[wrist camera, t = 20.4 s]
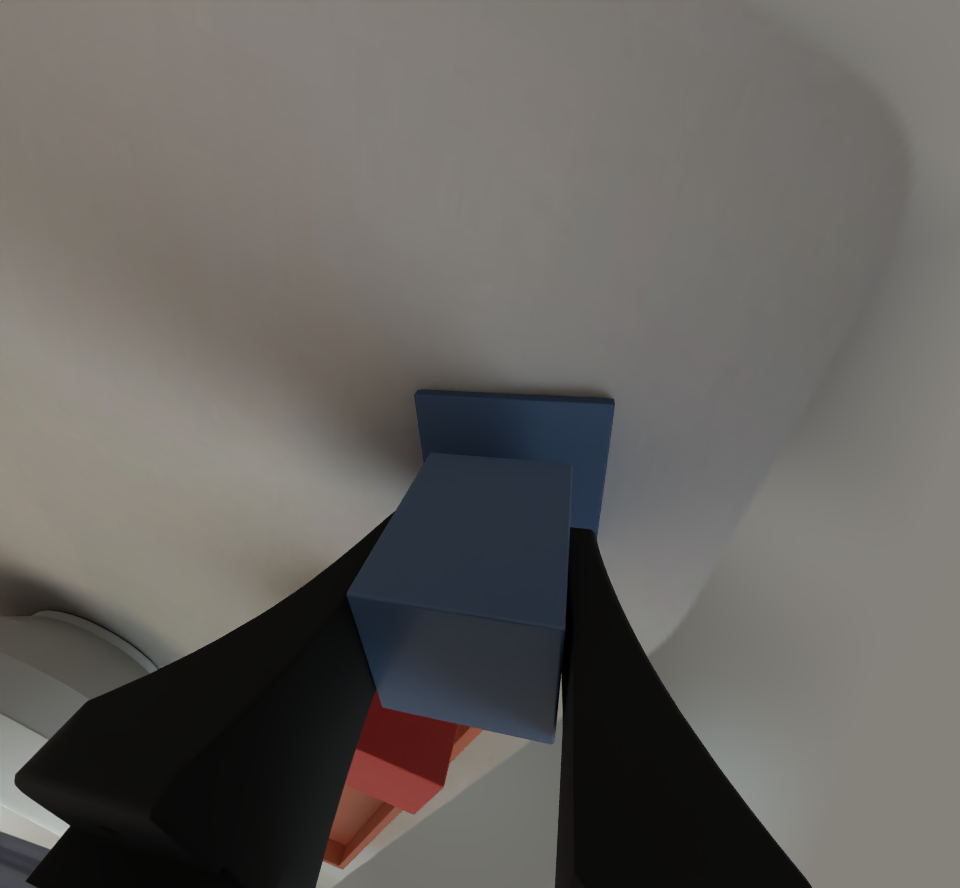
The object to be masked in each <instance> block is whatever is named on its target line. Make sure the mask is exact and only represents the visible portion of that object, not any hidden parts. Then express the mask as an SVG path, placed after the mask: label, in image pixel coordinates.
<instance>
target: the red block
mask: <svg viewBox="0 0 960 888" xmlns="http://www.w3.org/2000/svg"><path fill="white" fill-rule="evenodd" d="M458 725H459V724H456V723H451V722H447V721H442V720H438V719H433V718H429V717H424V716H419V715H415V714H410V713H406V712H401V711H397V710H392V709H388V708H383V707H382V705H381V702H380V699H379V696H378V693H377V690H376V691H375V694H374V697H373V700H372V703H371V706H370V709H369V712H368V715H367V717H366V720H365V723H364V726H363V729H362V732H361V735H360V738H359V741H358V744H357V748H356V751H355V754H354V757H353V760H352V763H351V766H350V769H349V772H348V775H347V779H346V782H345V785H347V786H349V787H352V788H354V789H356V790H359V791H361V792H363V793H365V794H368V795H370V796H372V797H375V798H377V799H379V800H381V801H384V802H386V803H388V804H391V805H393V806H395V807H397V808H400V809H402V810H404V811H407V812H409V813H411V814H415V813H416V812H417V811H418V810H420V809H421V808H422V807H423V806H424V805H425V804H426V803H427V802H428V801H429V800H430V799H432V798H433V797H434V796H435V795H436V794H437V793H438V792H439V791H440V790H441V789H442V788H443V787H444V784H445V780H446V775H447V771H448V767H449V763H450V759H451V754H452V750H453V746H454V742H455V738H456V734H457V729H458Z"/></svg>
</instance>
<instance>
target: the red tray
mask: <svg viewBox="0 0 960 888" xmlns="http://www.w3.org/2000/svg"><path fill="white" fill-rule="evenodd" d="M482 730H483V729H479V728H474V727H470V726H465V725H461V724H459V725H458V729H457V734H456V738H455V742H454V746H453V750H452V754H451V759H450V762H451V761H452V760H453V759H454V758H455V757H456V756H457V755H458V754H459V753H460V752H461V751H462V750H463V749H464V748H465V747H466V746H467V745H468V744H469V743H470V742H471V741H472V740H473V739H474V738H475V737H476V736H477V735H478V734H479V733H480V732H481V731H482ZM401 811H402V809H400V808H397V807H395V806H393V805H391V804H388V803H386V802H384V801H381V800H379V799H377V798H375V797H372V796H370V795H368V794H365V793H363V792H361V791H359V790H356V789H354V788H352V787H349V786H347V785H344V789H343V792H342V795H341V799H340V802H339V805H338V809H337V812H336V815H335V819H334V822H333V825H332V829H331V833H330V836H329V840H328V843H327V847H326V851H325V854H324V858H323V861H324V862H326V863H329V864H331V865H333V866H336V867H338V868H340V869H344V868H345V867H346V866H347V865H348V864H349V863H350V862H351V861H352V860H353V859H354V858H355V857H356V856H357V855H358V854H359V853H360V852H361V851H362V850H363V849H364V848H365V847H366V846H367V845H368V844H369V843H370V842H371V841H372V840H373V839H374V838H375V837H376V836H377V835H378V834H379V833H380V832H381V831H382V830H383V829H384V828H385V827H386V826H387V825H388V824H389V823H390V822H391V821H392V820H393V819H394V818H395V817H396V816H397V815H398V814H399V813H400V812H401Z"/></svg>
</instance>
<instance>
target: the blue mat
mask: <svg viewBox="0 0 960 888" xmlns="http://www.w3.org/2000/svg"><path fill="white" fill-rule="evenodd" d="M414 397H415V404H416V411H417V418H418V425H419V433H420V440H421V447H422V454H423V461H424V462H425V461H426V459H427V457H428V456H429V454H430V453H442V454H454V455H467V456H480V457H493V458H505V459H518V460H531V461H543V462H556V463H569V464H572V466H573V470H572V493H571V516H570V527H574V528H583V529H591V530H592V531H593V532H594V533H595V535H596V540H597V533H598V526H599V518H600V511H601V503H602V496H603V489H604V481H605V474H606V466H607V459H608V452H609V444H610V437H611V429H612V422H613V415H614V407H615V403H614V399H604V398H583V397H561V396H540V395H518V394H497V393H475V392H453V391H432V390H418V391H417V392H416V393H415V395H414Z"/></svg>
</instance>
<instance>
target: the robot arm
mask: <svg viewBox="0 0 960 888" xmlns="http://www.w3.org/2000/svg"><path fill="white" fill-rule="evenodd" d="M394 513H395V512H393V513H392V514H391V515H390V516H389V517H387V518H386V519H385V520H384V521H383V522H382V523H380V524H379V525H378V526H377V527H376V528H375V529H374V530H372V531H371V532H370V533H369V534H368V535H367V536H365V537H364V538H363V539H362V540H361V541H360V542H359V543H357V544H356V545H355V546H354V547H353V548H351V549H350V550H349V551H348V552H347V553H345V554H344V555H343V556H342V557H341V558H339V559H338V560H337V561H336V562H334V563H333V564H332V565H330V566H329V567H328V568H327V569H325V570H324V571H323V572H321V573H320V574H319V575H317V576H316V577H315V578H314V579H312V580H311V581H310V582H308V583H307V584H306V585H304V586H303V587H301V588H300V589H299V590H297V591H296V592H294V593H293V594H291V595H290V596H288V597H287V598H285V599H284V600H282V601H281V602H279V603H278V604H276V605H275V606H273V607H272V608H270V609H269V610H267V611H266V612H264V613H262V614H261V615H259V616H257V617H256V618H254V619H252V620H251V621H249V622H247V623H245V624H244V625H242V626H240V627H238V628H237V629H235V630H233V631H232V632H230V633H228V634H226V635H225V636H223V637H221V638H220V639H218V640H216V641H214V642H212V643H210V644H208V645H206V646H205V647H203V648H201V649H199V650H197V651H195V652H193V653H191V654H189V655H187V656H185V657H183V658H181V659H179V660H177V661H175V662H173V663H171V664H169V665H167V666H165V667H163V668H161V669H159V670H156V671H154V672H152V673H150V674H148V675H146V676H143V677H141V678H139V679H136V680H134V681H132V682H130V683H127V684H125V685H123V686H121V687H118V688H116V689H114V690H112V691H109V692H107V693H105V694H103V695H100V696H98V697H95V698H93V699H91V700H88V701H87V702H86V703H85V704H84V705H83V706H82V707H81V708H80V709H79V710H78V711H77V712H76V713H75V714H74V715H73V716H72V717H71V718H70V719H69V720H68V721H67V722H66V723H65V724H64V725H63V726H62V727H61V728H60V729H59V730H58V731H57V732H56V733H55V734H54V735H53V736H52V737H51V738H50V739H49V740H48V741H47V742H46V743H45V744H44V745H43V746H42V747H41V748H40V750H39V751H38V752H37V753H36V754H35V755H34V756H33V757H32V758H31V759H30V760H29V761H28V762H27V763H26V764H25V765H24V766H23V767H22V768H21V769H20V770H19V771H18V772H17V773H16V774H15V780H14V782H15V786H16V787H17V788H18V789H19V790H20V791H21V792H22V793H24V794H25V795H26V796H28V797H29V798H30V799H32V800H33V801H35V802H36V803H38V804H39V805H41V806H42V807H43V808H45V809H46V810H48V811H49V812H51V813H52V814H54V815H55V816H57V817H58V818H60V819H61V820H63V821H64V822H65V823H67V824H68V825H70V827H69V828H68V829H67V830H66V832H65V833H64V834H63V835H62V837H61V838H60V839H59V840H58V841H57V843H56V844H55V845H54V846H53V848H52V849H48V848H45V847H43V846H40V845H37V844H34V843H32V842H29V841H26V840H23V839H20V838H18V837H15V836H12V835H9V834H7V833H4V832H1V831H0V888H315V887H316V883H317V880H318V876H319V872H320V869H321V865H322V861H323V858H324V854H325V851H326V847H327V843H328V840H329V836H330V833H331V829H332V825H333V822H334V819H335V815H336V812H337V809H338V805H339V802H340V799H341V795H342V792H343V789H344V785H345V782H346V779H347V775H348V772H349V769H350V766H351V763H352V760H353V757H354V754H355V751H356V748H357V744H358V741H359V738H360V735H361V732H362V729H363V726H364V723H365V720H366V717H367V715H368V712H369V709H370V706H371V703H372V700H373V697H374V694H375V691H376V686H375V683H374V680H373V677H372V674H371V671H370V668H369V664H368V661H367V658H366V655H365V652H364V649H363V646H362V643H361V639H360V636H359V633H358V630H357V627H356V624H355V621H354V617H353V614H352V611H351V608H350V605H349V602H348V599H347V592H348V590H349V588H350V587H351V585H352V583H353V582H354V580H355V578H356V577H357V575H358V573H359V571H360V570H361V568H362V566H363V565H364V563H365V561H366V560H367V558H368V556H369V555H370V553H371V551H372V550H373V548H374V546H375V545H376V543H377V541H378V540H379V538H380V536H381V535H382V533H383V531H384V530H385V528H386V526H387V525H388V523H389V521H390V519H391V518H392V516H393V514H394ZM561 673H562V703H563V736H562V756H561V757H562V759H561V779H560V800H559V818H558V839H557V858H556V878H555V888H812V887H811V885H810V883H809V882H808V881H807V879H806V878H805V877H804V876H803V874H802V873H801V872H800V871H799V869H798V868H797V867H796V866H795V864H794V863H793V862H792V861H791V860H790V858H789V857H788V856H787V855H786V853H785V852H784V851H783V850H782V849H781V847H780V846H779V845H778V844H777V842H776V841H775V840H774V839H773V837H772V836H771V835H770V834H769V832H768V831H767V830H766V828H765V827H764V826H763V825H762V823H761V822H760V821H759V819H758V818H757V817H756V816H755V814H754V813H753V812H752V811H751V809H750V808H749V807H748V805H747V804H746V803H745V801H744V800H743V799H742V797H741V796H740V795H739V793H738V792H737V791H736V789H735V788H734V787H733V785H732V784H731V783H730V782H729V780H728V779H727V777H726V776H725V775H724V773H723V772H722V771H721V769H720V768H719V767H718V765H717V764H716V762H715V761H714V760H713V758H712V757H711V755H710V754H709V752H708V751H707V749H706V748H705V747H704V745H703V744H702V742H701V741H700V739H699V738H698V736H697V735H696V734H695V732H694V731H693V729H692V728H691V726H690V725H689V723H688V722H687V721H686V719H685V718H684V716H683V715H682V713H681V712H680V710H679V709H678V707H677V706H676V704H675V702H674V701H673V699H672V698H671V696H670V694H669V693H668V691H667V690H666V688H665V686H664V685H663V683H662V682H661V680H660V678H659V676H658V675H657V673H656V671H655V670H654V668H653V666H652V665H651V663H650V661H649V659H648V658H647V656H646V654H645V652H644V650H643V649H642V647H641V645H640V643H639V641H638V639H637V637H636V635H635V633H634V631H633V629H632V628H631V626H630V624H629V622H628V620H627V618H626V615H625V613H624V611H623V609H622V607H621V605H620V602H619V600H618V598H617V596H616V593H615V591H614V589H613V586H612V584H611V582H610V579H609V577H608V574H607V571H606V569H605V566H604V563H603V560H602V557H601V554H600V551H599V548H598V544H597V540H596V535H595V533H594V532H593V531H592V530H591V529H583V528H574V527H570V539H569V562H568V585H567V608H566V630H565V640H564V650H563V660H562V671H561Z"/></svg>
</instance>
